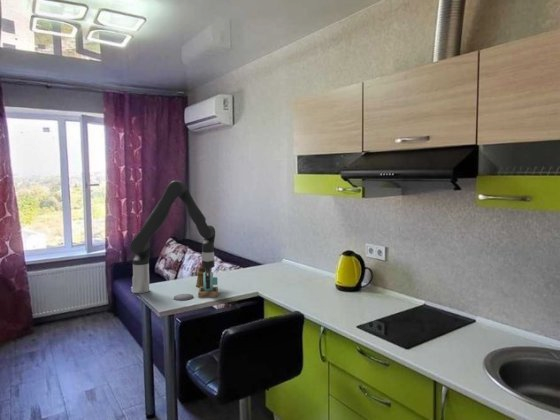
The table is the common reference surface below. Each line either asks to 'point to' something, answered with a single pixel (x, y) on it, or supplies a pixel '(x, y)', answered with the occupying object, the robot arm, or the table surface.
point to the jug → (212, 282)
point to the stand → (208, 294)
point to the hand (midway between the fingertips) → (208, 286)
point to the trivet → (183, 297)
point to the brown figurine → (200, 277)
